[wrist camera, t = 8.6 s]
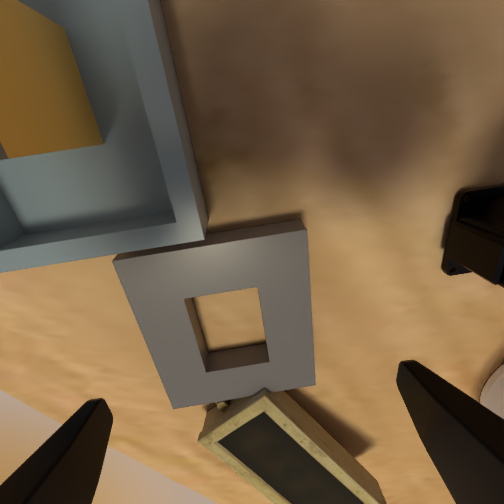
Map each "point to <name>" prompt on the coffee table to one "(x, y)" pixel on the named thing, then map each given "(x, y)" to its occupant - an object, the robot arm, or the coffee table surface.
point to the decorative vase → (494, 392)
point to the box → (285, 452)
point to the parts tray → (108, 149)
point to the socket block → (217, 281)
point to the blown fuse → (40, 87)
